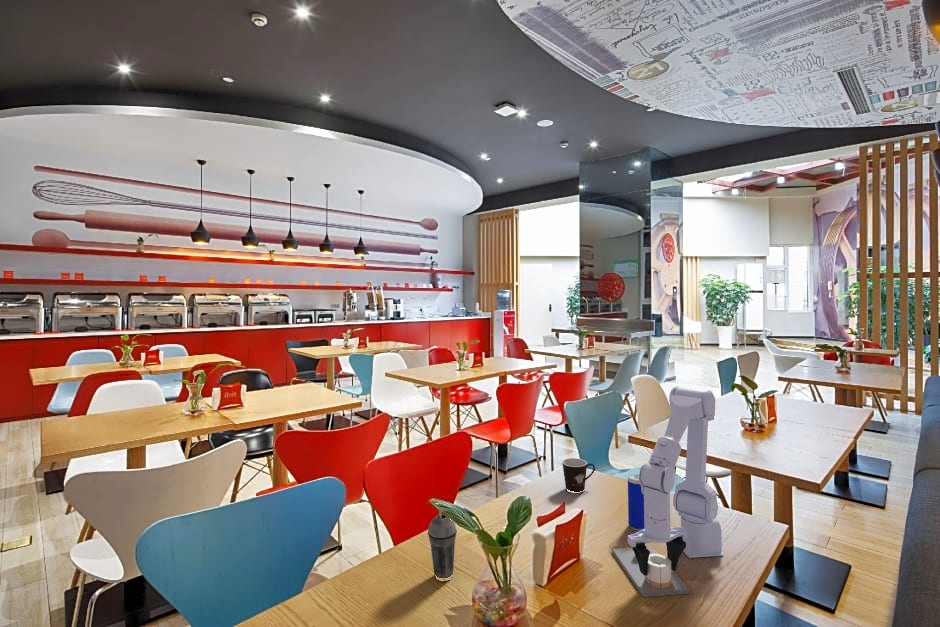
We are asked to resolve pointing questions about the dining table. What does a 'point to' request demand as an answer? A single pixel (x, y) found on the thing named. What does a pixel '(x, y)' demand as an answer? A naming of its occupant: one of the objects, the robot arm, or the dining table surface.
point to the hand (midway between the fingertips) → (657, 570)
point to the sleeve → (659, 571)
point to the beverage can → (635, 503)
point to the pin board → (633, 571)
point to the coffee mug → (575, 473)
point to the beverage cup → (442, 545)
